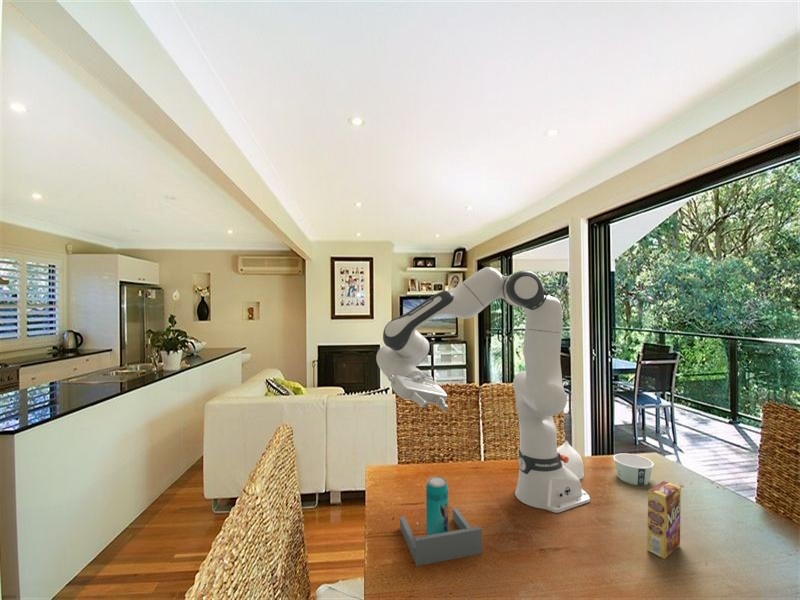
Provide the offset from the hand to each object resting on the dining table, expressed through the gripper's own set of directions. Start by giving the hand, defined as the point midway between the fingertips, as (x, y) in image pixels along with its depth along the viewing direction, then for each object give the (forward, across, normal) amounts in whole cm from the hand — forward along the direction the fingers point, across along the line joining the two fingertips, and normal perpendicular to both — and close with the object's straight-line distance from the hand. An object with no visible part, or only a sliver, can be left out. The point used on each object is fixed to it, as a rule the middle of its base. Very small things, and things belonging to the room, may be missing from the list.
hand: (435, 407), depth 108 cm
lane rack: (+20, +3, +26) cm, 33 cm away
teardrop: (+20, +62, +7) cm, 65 cm away
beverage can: (+20, +3, +27) cm, 33 cm away
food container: (+34, +73, -4) cm, 81 cm away
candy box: (+53, +38, -2) cm, 66 cm away
